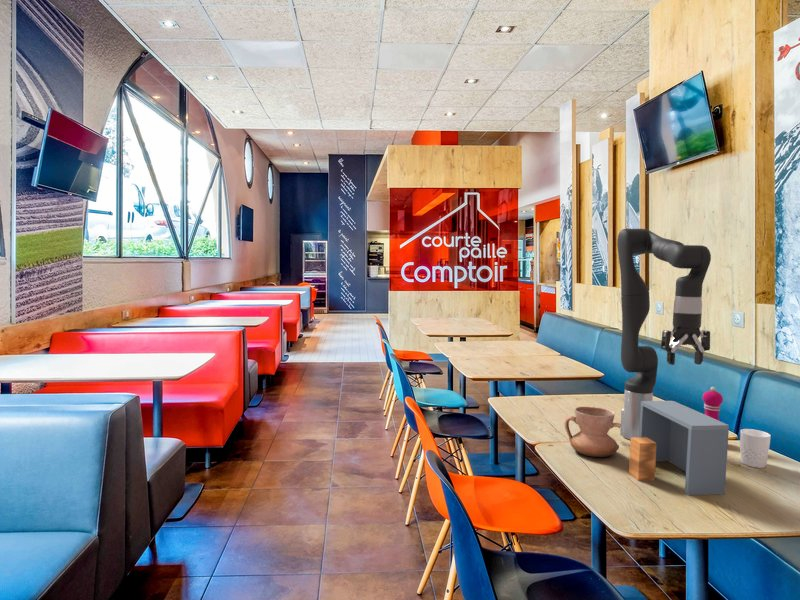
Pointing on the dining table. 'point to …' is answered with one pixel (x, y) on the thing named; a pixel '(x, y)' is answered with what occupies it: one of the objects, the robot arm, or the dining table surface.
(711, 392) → the pepper mill
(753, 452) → the white cup
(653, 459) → the orange block
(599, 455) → the ceramic jug
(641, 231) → the robot arm
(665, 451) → the grey cubby
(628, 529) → the dining table surface
